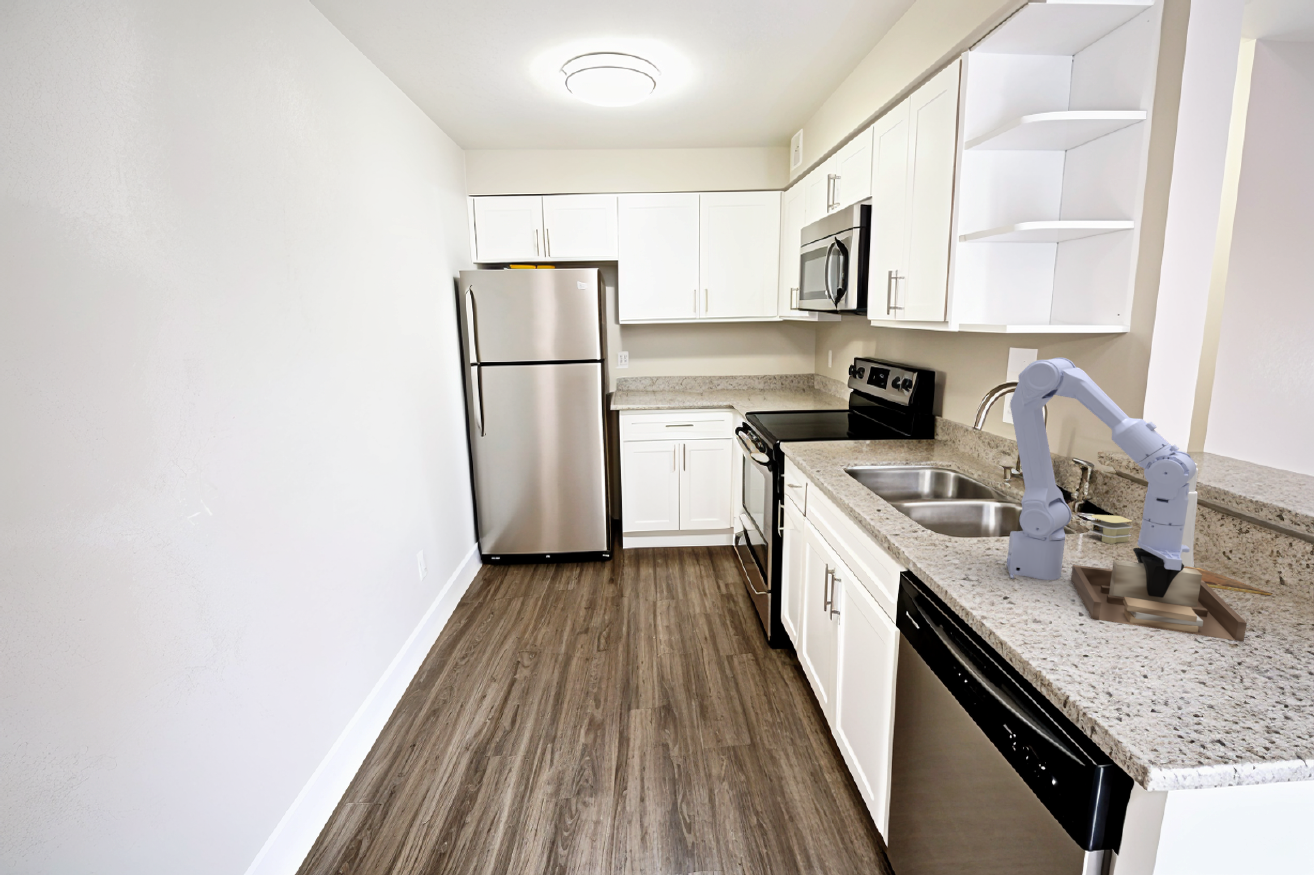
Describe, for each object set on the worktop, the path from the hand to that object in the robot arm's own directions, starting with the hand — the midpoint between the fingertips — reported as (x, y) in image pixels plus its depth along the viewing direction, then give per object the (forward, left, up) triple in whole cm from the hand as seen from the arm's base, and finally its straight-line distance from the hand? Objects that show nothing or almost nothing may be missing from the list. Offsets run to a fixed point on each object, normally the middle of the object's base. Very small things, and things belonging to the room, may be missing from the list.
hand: (1152, 592), depth 108 cm
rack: (-1, -2, -3) cm, 4 cm away
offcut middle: (-1, -8, -1) cm, 8 cm away
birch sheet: (0, 0, -2) cm, 2 cm away
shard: (+14, +17, -4) cm, 22 cm away
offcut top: (-1, -8, 0) cm, 8 cm away
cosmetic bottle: (+11, +26, -3) cm, 28 cm away
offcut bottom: (-1, -8, -2) cm, 8 cm away
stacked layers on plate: (+2, +38, -3) cm, 38 cm away
